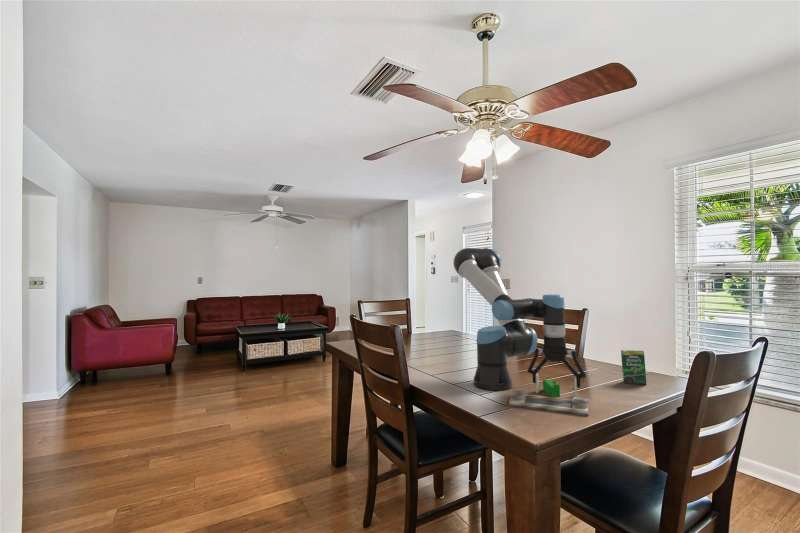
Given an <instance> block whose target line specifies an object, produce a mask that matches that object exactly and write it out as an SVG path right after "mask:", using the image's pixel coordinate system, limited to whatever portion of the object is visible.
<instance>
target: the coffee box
mask: <svg viewBox="0 0 800 533" xmlns="http://www.w3.org/2000/svg"><path fill="white" fill-rule="evenodd" d="M620 353H621V354H620V355H621V356H620V357H621V369H622V372H621V373H622V381H623V383H624V384H634V385H647V374H646V372H647V371H646V361H645V360H646V359H645V351H644V350H631V349H630V350H627V349H621V350H620Z"/></svg>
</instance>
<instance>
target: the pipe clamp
mask: <svg viewBox="0 0 800 533" xmlns="http://www.w3.org/2000/svg"><path fill="white" fill-rule="evenodd" d="M560 387H561V386H560V384H558V383H557V380H548V379H547V378H542V390H543V391H544V393H545V394H546V395H547V397H554V398H561V397H560V396H561V394H560V393H561V391H560Z"/></svg>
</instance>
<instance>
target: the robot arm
mask: <svg viewBox="0 0 800 533" xmlns="http://www.w3.org/2000/svg"><path fill="white" fill-rule="evenodd" d="M501 266H502V258H501V255H500V254H499V252H498V251H497V250H495V249H492V248H488V247H485V248H484V247H483V248H477V247H476V248H475V247H474V248H472V247H465V248H462V249H460V250H459V251H457V252H456V254H455V256H454V258H453V268H454V270H455V272H456V273H457V274H458V275H459V276H460V277H461V278H464V279H465V280H466V281H468V282H469V283H470V285H471V286H472V287H473V288H474V289H475V290H476V291H477V292H478V293H479V294H480V295H481V297H482V298H484V300H486V302H487V303H488V304H489V305H491V312H492V315H493V317H494V319H496V320H497V322H498V325H492V326H491V325H490V326H484V327H481V328H479V329H478V330H477V333H476V340H475V341H476V352H477V355H476V356H477V358H476V359H477V360H476V361H477V366H476V369H475V374H474V376H473V385H474V386H475V387H476V388H478V389H482V390H486V391H505V390H509V389H512V386H513V381H512V377H511V375H510V372H509V369H508V364H507V363H508V358H514V357H524V356H526V355H531V354H533V353H534V355H533V358H532V360H531V362H530V365H529V367H528V369H527V373H530V374H531V375H532V383H533V384H535V389H536V390H535V394H539V392H540V387H539V386H540V382H539V381H540V380H539V377H540V376H539V373H538V372H539V371H540V370H541V369H542V368H543V367H544V365H545V364H546V363H547V362H548V361H550V362H558V363H560V362H562V363H563V364H564V365H565V366H566V367H567V368H568V370H569V371H570V372H571V373H572V374H573V376H574V380H573V381H574V397H578V388H581V379H582V378H583V379H584V378H586V372H585V371H584V368H583V367H582V365H581V363H580V361H579V359H578V357H577V356H576V350H575V349H570V350H568V349H567V343H566V337H565V336H566V320H565V318H566V317H565V315H566V314H565V312H566V309H565V307H566V306H565V299H564V296H563V294H551V293H550V294H548V293H547V294H543V295H542V299H540V298H537V299H536V298H531V297H529V298H521V299H513V298H511V297H510V296H509V294H508V291H507V289H506V287H505V285H504V283H503V280H502V279H501V276H500V272H501ZM523 319H542V323H543V324H542V325H543V327H542V328H543V335H544V336H543V348H539V347H537V345H538V336H537V335H538V334H537V332H536V331H535V330H534V329H533V328H532V327H530V326H527V325H526V323H525V320H523ZM542 353H543V354H544V356H545V357H543V359H542V360H541V361H540V362H539V364H538V365H537V366H536V367H535V368H534V365H535V364H536V361H537V359H538V357H539V355H541V354H542ZM567 355H569V357H572V360H573V362H574V364H575V366H576V368H577V370H578V371H577V370H576V369H575V367H574V366H573V365H572V364H571V363H570V362H569V360H568V359H567V358H566V356H567ZM533 368H534V369H533Z"/></svg>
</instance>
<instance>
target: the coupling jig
mask: <svg viewBox="0 0 800 533" xmlns="http://www.w3.org/2000/svg"><path fill="white" fill-rule="evenodd" d="M509 394H510V396H509V397H510V399H509V402H508V403H509V404H508V406H510V407H514V408H515V407H517V408H524V409H532V410H537V411H538V410H539V411H548V412H554V413H562V414H570V415H578V416H586V417H588V416H589V407H590V405H589V404H590V402H589V400H590V399H588V398H584V397H578V396H577V397H575V396H573V397H572V398H562V397H555V398H554V397H549V396H544V395H534V394H527V393H525V392H524V391H523V390H510V391H509Z"/></svg>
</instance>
